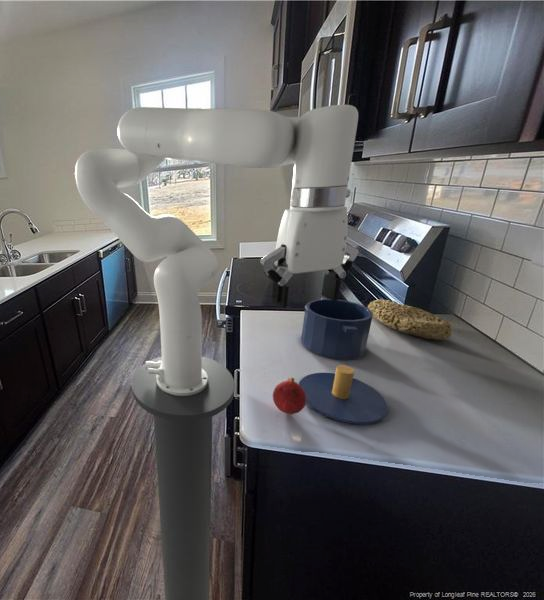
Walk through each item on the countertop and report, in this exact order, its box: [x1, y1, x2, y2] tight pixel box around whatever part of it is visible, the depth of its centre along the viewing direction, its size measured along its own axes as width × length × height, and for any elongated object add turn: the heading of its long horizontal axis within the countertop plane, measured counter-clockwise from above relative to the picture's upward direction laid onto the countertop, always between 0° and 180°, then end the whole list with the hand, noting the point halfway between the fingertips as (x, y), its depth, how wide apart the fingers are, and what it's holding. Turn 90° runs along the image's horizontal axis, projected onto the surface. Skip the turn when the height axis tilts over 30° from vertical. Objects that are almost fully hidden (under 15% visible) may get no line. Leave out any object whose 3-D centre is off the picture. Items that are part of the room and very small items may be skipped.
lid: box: [298, 364, 389, 425], centre depth 64 cm, size 16×16×7 cm
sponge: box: [367, 298, 452, 341], centre depth 89 cm, size 13×8×20 cm
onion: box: [272, 376, 306, 415], centre depth 61 cm, size 6×6×8 cm
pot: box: [300, 297, 373, 361], centre depth 83 cm, size 15×20×10 cm
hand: (304, 301), depth 55 cm, fingers open, 9 cm apart
